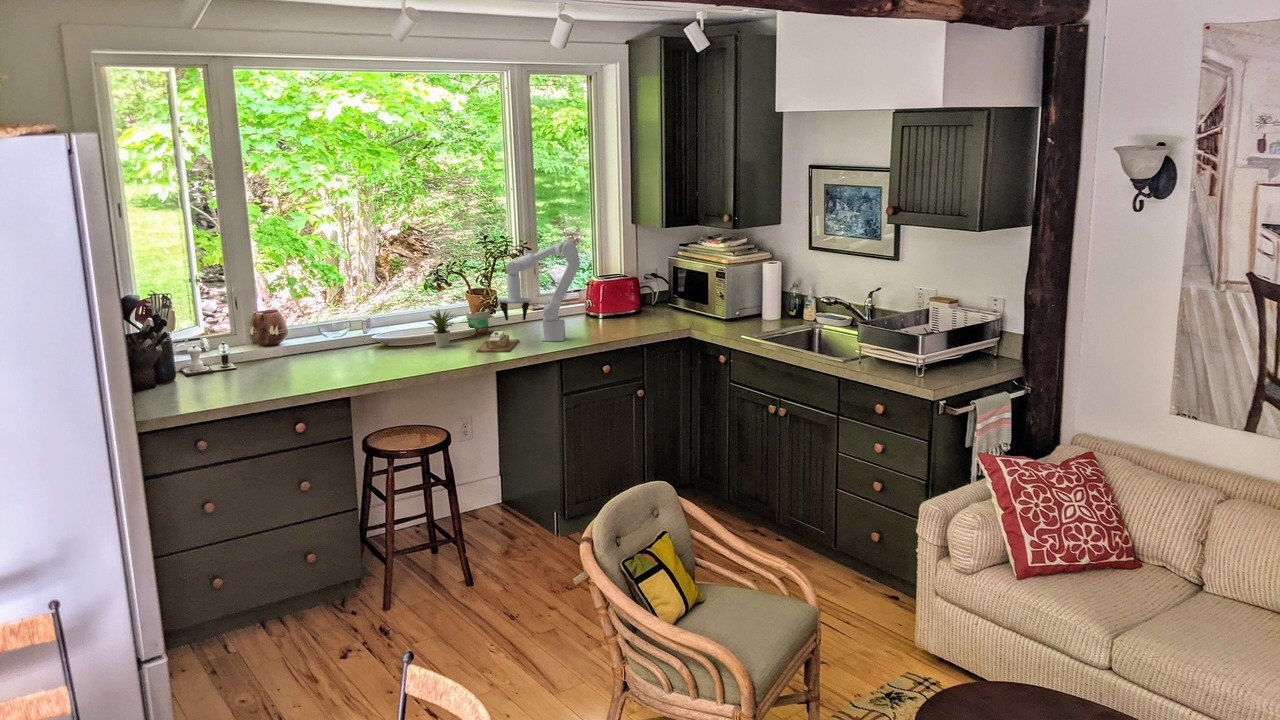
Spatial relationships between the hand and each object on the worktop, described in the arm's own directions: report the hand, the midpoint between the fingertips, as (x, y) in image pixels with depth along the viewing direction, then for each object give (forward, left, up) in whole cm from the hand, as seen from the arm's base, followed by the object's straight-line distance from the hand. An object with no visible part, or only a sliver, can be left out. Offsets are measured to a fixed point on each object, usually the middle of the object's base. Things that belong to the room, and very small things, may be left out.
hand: (515, 319), depth 434 cm
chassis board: (+6, +10, -9) cm, 15 cm away
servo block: (+6, +10, -9) cm, 15 cm away
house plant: (+30, +10, -10) cm, 33 cm away
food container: (+19, -15, -10) cm, 26 cm away
